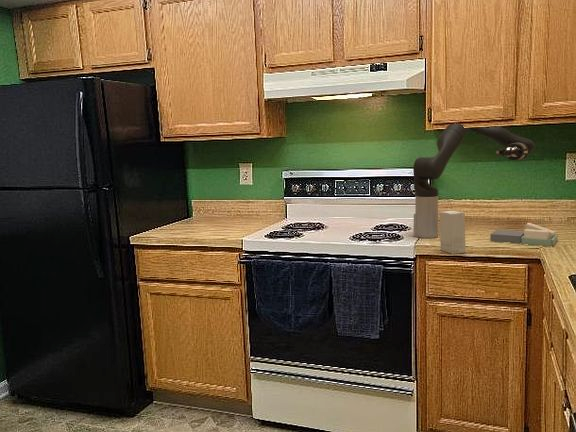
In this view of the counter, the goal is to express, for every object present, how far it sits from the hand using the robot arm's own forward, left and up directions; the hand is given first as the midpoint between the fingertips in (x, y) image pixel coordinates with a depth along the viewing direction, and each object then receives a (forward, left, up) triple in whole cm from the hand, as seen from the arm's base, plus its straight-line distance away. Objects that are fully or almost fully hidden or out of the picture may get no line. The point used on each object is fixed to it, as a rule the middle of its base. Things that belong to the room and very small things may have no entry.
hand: (507, 153), depth 215 cm
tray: (+15, -12, -34) cm, 39 cm away
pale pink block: (+10, -16, -31) cm, 36 cm away
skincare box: (-10, -41, -34) cm, 54 cm away
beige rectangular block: (+9, -10, -29) cm, 32 cm away
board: (+3, -12, -34) cm, 36 cm away
